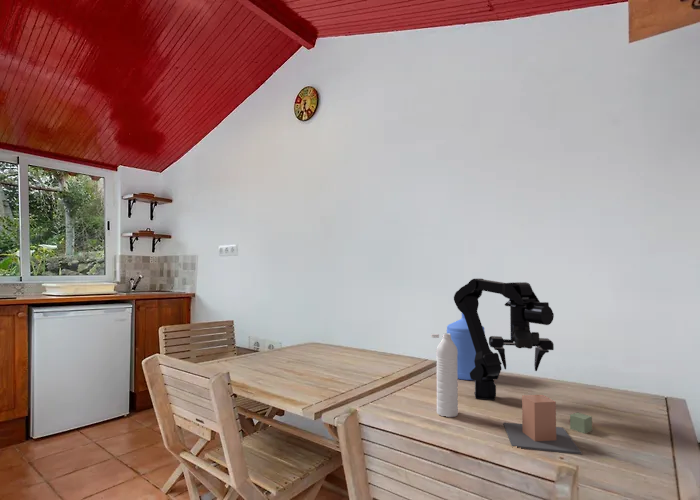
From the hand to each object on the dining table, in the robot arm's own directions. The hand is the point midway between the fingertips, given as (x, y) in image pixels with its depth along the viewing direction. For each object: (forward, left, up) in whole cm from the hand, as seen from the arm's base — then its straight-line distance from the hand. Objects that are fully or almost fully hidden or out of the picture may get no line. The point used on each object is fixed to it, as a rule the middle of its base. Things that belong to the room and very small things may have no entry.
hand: (520, 369), depth 131 cm
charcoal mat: (+1, -21, -13) cm, 25 cm away
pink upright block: (+1, -21, -12) cm, 25 cm away
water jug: (-15, +40, -13) cm, 45 cm away
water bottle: (-24, -9, -13) cm, 29 cm away
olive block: (+14, -12, -13) cm, 23 cm away
